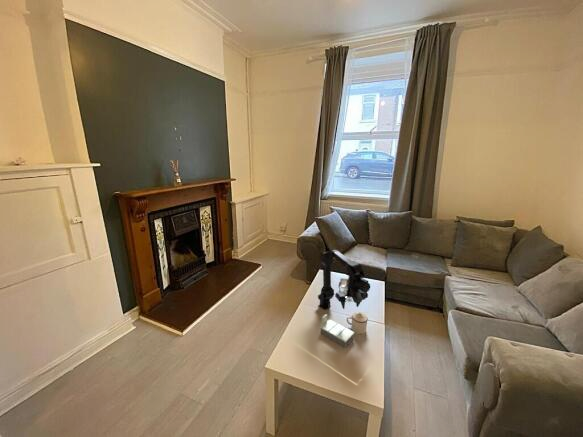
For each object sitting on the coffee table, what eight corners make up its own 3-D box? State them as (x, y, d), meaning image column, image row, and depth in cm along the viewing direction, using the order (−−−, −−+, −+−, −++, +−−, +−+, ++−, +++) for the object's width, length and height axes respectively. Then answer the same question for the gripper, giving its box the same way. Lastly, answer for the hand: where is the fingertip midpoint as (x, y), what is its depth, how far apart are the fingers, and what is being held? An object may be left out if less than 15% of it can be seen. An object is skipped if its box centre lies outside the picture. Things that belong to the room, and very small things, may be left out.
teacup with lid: (366, 327, 151) (368, 310, 148) (365, 336, 142) (367, 319, 140) (347, 322, 155) (348, 305, 152) (344, 331, 146) (346, 314, 144)
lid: (318, 327, 143) (319, 319, 142) (327, 319, 150) (328, 311, 149) (345, 342, 132) (346, 334, 130) (354, 333, 139) (355, 325, 137)
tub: (320, 334, 143) (320, 328, 142) (329, 326, 150) (329, 321, 149) (344, 348, 133) (345, 342, 132) (352, 339, 140) (353, 333, 139)
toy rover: (356, 286, 180) (339, 284, 181) (354, 298, 182) (338, 296, 184) (354, 275, 197) (339, 273, 199) (353, 286, 199) (338, 284, 201)
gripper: (345, 293, 133) (342, 318, 137) (375, 289, 138) (371, 313, 142) (335, 283, 143) (333, 306, 147) (364, 279, 149) (361, 302, 153)
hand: (350, 307), depth 147 cm, fingers open, 9 cm apart
